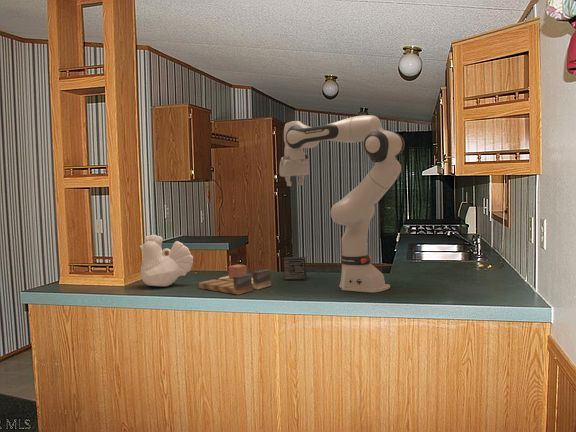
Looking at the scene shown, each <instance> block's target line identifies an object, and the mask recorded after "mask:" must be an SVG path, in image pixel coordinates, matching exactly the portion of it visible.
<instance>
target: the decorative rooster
mask: <svg viewBox="0 0 576 432" xmlns="http://www.w3.org/2000/svg"><path fill="white" fill-rule="evenodd" d="M163 241H164V238H163V237H162V236H160V235H157V234H151V235H146V236H144V243H143V244H141V245H139V248H140V249H141V250H142V251H141V253H142V255H141V258H142V262H141V266H140V278H141V280H142V282H143V283H144V284H145V285H146V286H149V287H150V286H151V287H170V286H171V285H172V284H174V282H175V281H177V280H178V278H179V277H182V276H183V277H184V276H186V275H187V273H188V272H191V271H192V267H193V263H194V255H192V254H191V251H190V249H189V247H187V246H186V245H184V243H182V242H180V241H178V240H176V241H174V242H173V244H172V247H171V249H170V248H168V247H167V248H166V247H165V248H162V244H163ZM165 252H168V254H167V255H166V254H165ZM169 285H170V286H169Z"/></svg>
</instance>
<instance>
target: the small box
mask: <svg viewBox="0 0 576 432" xmlns="http://www.w3.org/2000/svg"><path fill="white" fill-rule="evenodd" d="M306 260H307V259H306V256H293V257H292V256H287V257H284V258H283V260H282V261H283V275H284V276H283V277H284V278H283V280H284V281H306V280H307V261H306Z"/></svg>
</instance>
